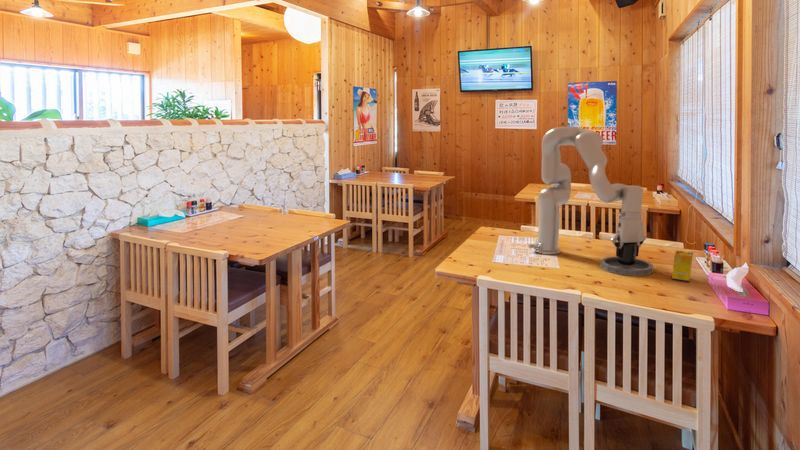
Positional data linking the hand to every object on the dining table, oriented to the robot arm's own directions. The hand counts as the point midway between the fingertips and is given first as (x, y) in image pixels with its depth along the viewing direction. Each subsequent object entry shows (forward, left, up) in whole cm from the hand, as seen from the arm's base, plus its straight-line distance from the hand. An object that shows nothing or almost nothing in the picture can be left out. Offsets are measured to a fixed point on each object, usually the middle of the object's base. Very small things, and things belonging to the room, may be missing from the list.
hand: (627, 255), depth 196 cm
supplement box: (+12, -17, -6) cm, 22 cm away
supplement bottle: (0, 0, -4) cm, 4 cm away
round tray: (0, 0, -6) cm, 6 cm away
